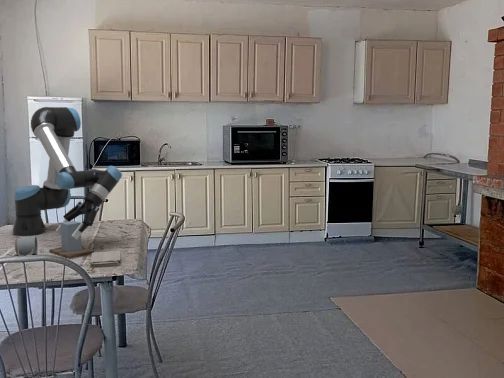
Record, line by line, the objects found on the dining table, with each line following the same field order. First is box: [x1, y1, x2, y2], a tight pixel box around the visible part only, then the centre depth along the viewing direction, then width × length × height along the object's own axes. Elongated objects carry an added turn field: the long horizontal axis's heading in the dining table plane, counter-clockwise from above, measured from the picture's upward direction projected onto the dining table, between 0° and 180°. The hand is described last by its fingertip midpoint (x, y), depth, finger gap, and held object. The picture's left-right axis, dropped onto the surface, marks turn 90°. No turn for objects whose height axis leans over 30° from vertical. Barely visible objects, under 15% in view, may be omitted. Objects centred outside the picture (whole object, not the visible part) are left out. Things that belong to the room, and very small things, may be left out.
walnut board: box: [48, 246, 95, 260], centre depth 225 cm, size 16×12×1 cm
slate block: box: [60, 220, 83, 253], centre depth 224 cm, size 6×6×12 cm
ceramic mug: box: [14, 235, 39, 257], centre depth 220 cm, size 11×8×8 cm
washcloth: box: [89, 250, 121, 268], centre depth 213 cm, size 12×18×3 cm, turn 15°
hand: (65, 235), depth 222 cm, fingers open, 13 cm apart
